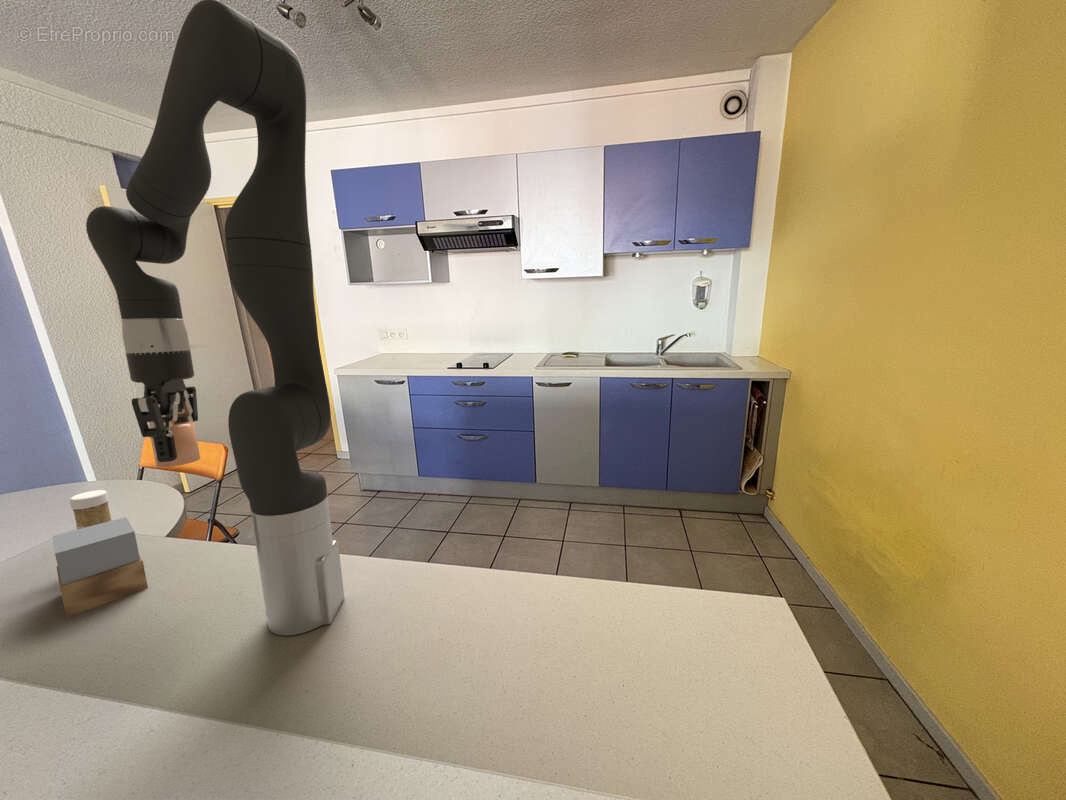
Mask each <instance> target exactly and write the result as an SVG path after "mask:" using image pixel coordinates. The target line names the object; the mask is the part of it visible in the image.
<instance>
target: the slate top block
mask: <svg viewBox="0 0 1066 800" xmlns="http://www.w3.org/2000/svg"><path fill="white" fill-rule="evenodd" d="M51 538H52V544H53V550H54V556H55V561H56V564H57V565H56V566H58V569H59V573H60V578H61V582H62V585H65V584H68V583H71V582H74V581H77V580H80V579H83V578H87V577H90V576H93V575H96V574H99V573H102V572H105V571H108V570H111V569H115V568H118V567H121V566H124V565H127V564H130V563H133V562H136V561H139V560H140V557H141V556H140V557H139V555H140V553H139V548H138V547H139V546H138V543H137V537H136V532H135V530H134V528H133V526H132V525H131V523H130V521H129V520H128V518H127V517H126V516H125V517H121V518H117V519H113V520H112V519H111V521H109V522H105V523H101V524H97V525H93V526H89V527H85V528H82V529H78V530H77V529H74V530H71V531H66V532H62V533H59V534H55V535H52V536H51Z"/></svg>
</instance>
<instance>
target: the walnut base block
mask: <svg viewBox="0 0 1066 800" xmlns="http://www.w3.org/2000/svg"><path fill="white" fill-rule="evenodd" d="M139 557H140V560H139V561H136V562H133V563H130V564H127V565H124V566H121V567H118V568H115V569H111V570H108V571H105V572H102V573H99V574H96V575H93V576H90V577H87V578H83V579H80V580H77V581H74V582H71V583H68V584H65V585H62V582H61V578H60V573H59V569H58V565H56V571H57V572H56V573H57V578H58V584H59V590H60V594H61V599H62V602H63V606H64V611H65V614H66V615H65V616H66V617H67V618H68V617H71V616H74V615H76V614H79V613H82V612H84V611H87V610H90V609H93V608H96V607H99V606H101V605H104V604H107V603H109V602H113V601H115V600H118V599H121V598H124V597H126V596H129V595H132V594H135V593H137V591H138V592H140V591H142V589H143V590H145V588H146V589H148V588H149V586H148V581H147V574H146V571H145V566H144V561H143V559H142V557H141V555H140V554H139ZM139 590H140V591H139Z"/></svg>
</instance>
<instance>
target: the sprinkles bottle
mask: <svg viewBox="0 0 1066 800" xmlns="http://www.w3.org/2000/svg"><path fill="white" fill-rule="evenodd" d="M108 501H109V495H108V491H106V490H104V489H98V490H91V491H85V492H82V493H78V494H74V495H72V496H71V497H70V498H69V504H70V509H71V510H72V512H73V513H74V519H75V522H76V523H75V525H76V530H78V529H82V528H85V527H89V526H93V525H97V524H101V523H105V522H109V521H112V517H111V516H112V515H111V512H110V507H109V502H108Z"/></svg>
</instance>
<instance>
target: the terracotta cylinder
mask: <svg viewBox="0 0 1066 800" xmlns="http://www.w3.org/2000/svg"><path fill="white" fill-rule="evenodd" d="M164 426H165V423H164ZM149 429H150V427H149ZM173 437H174V443H175V448H176V454H177V458H176V459H175V460H173V461H168V462H159V461H158V459H157V454H156V449H155V444H154V439H151V438H150V441H151V446H152V447H151V448H152V453H153V456H154V457H153V458H154V462H155V463H154V464H155V467H158V468H169V467H170V468H171V467H178V466H183V465H188V464H190V463H194V462H197V461H199V460H200V459H201V456H200V450H199V444H198V443H199V442H198V438H197V432H196V425H195V421H194V422H192V421H183V422H174V423H173Z"/></svg>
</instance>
